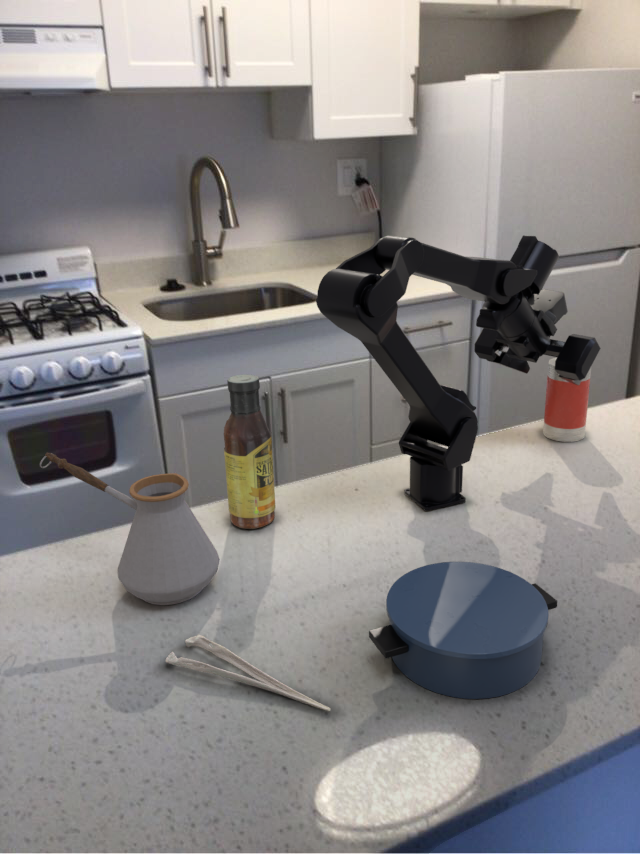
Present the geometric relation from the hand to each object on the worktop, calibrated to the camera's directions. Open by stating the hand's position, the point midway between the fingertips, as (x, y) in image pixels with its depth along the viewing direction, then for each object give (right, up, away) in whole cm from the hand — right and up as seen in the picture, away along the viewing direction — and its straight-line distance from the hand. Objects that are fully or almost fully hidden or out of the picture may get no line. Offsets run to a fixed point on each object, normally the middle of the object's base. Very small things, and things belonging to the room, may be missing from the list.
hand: (552, 376), depth 119 cm
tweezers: (-43, -32, -47) cm, 72 cm away
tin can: (+4, -9, +7) cm, 12 cm away
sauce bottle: (-46, -21, -17) cm, 53 cm away
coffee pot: (-58, -26, -30) cm, 71 cm away
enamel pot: (-22, -30, -44) cm, 58 cm away
